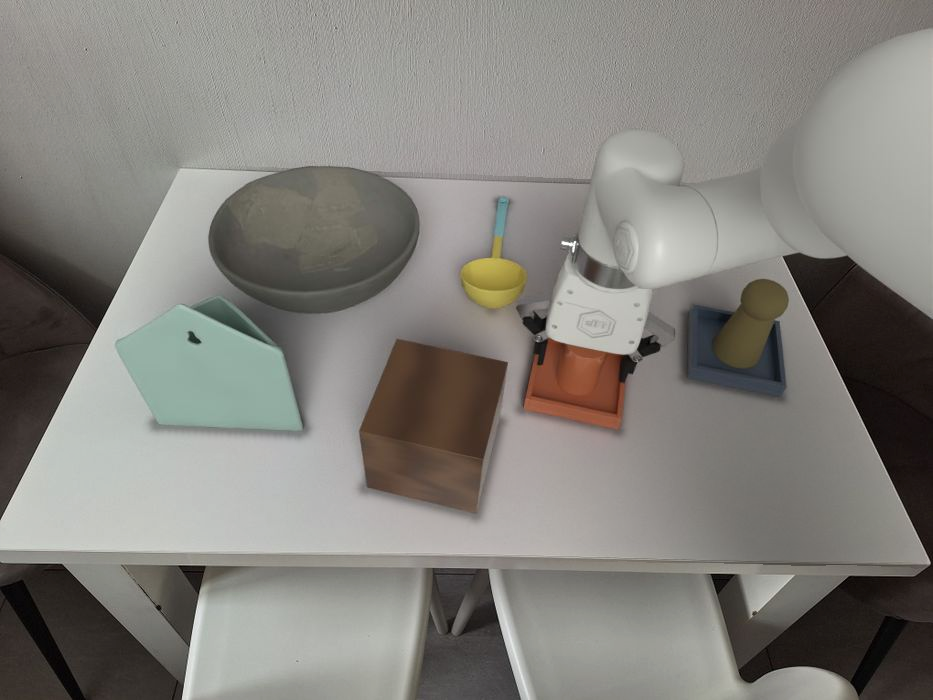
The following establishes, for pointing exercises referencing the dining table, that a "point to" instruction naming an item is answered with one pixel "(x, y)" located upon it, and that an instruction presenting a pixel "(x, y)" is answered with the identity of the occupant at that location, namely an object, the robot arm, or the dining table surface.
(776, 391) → the slate tray
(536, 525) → the dining table surface
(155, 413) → the planter
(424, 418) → the block
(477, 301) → the ladle
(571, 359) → the terracotta jar
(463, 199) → the dining table surface
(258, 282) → the bowl
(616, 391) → the terracotta tray
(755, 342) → the pepper shaker
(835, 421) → the dining table surface
